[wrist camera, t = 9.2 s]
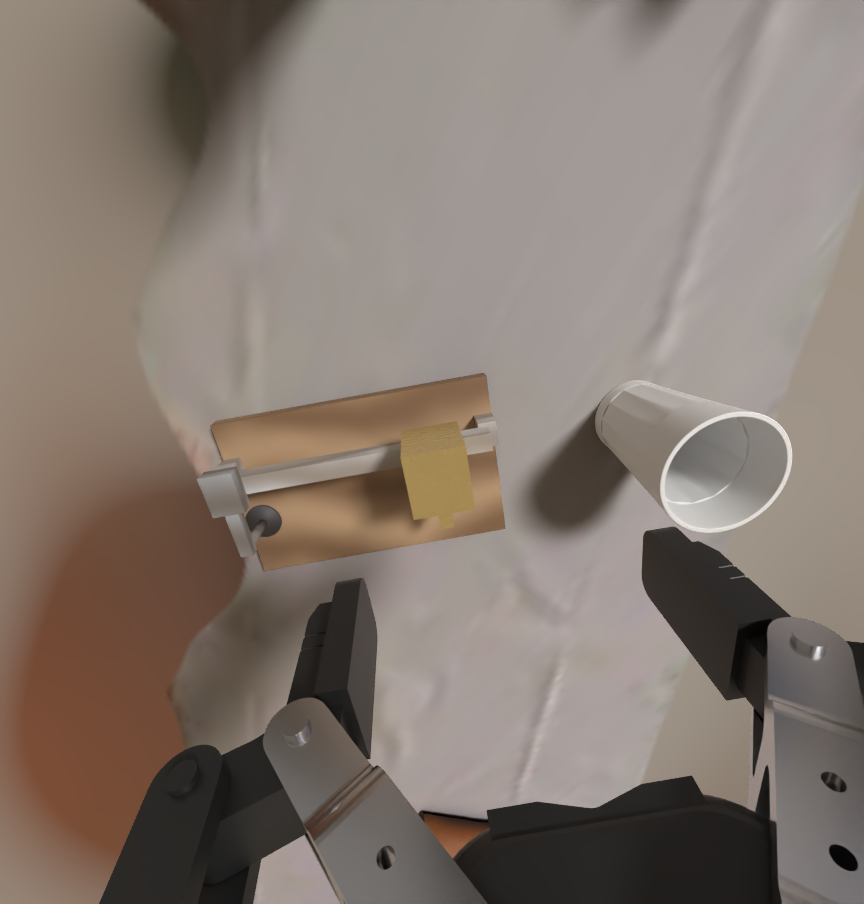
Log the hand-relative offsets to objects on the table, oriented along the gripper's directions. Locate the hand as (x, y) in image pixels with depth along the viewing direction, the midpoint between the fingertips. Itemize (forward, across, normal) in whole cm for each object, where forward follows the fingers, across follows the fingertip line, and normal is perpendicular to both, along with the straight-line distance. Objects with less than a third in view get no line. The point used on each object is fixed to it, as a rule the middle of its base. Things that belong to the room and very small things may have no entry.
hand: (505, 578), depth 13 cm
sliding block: (+23, +1, +6) cm, 24 cm away
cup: (+25, -16, +6) cm, 30 cm away
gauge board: (+25, +7, +8) cm, 27 cm away
